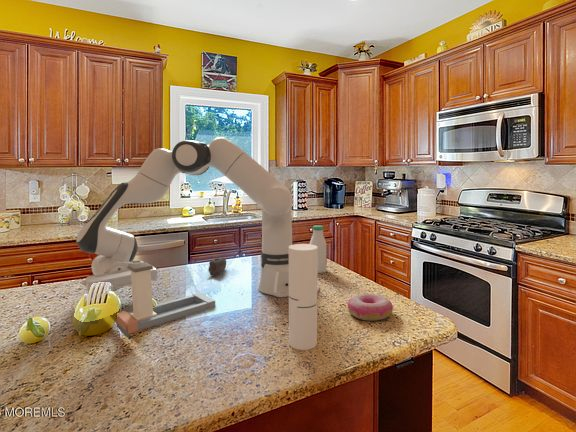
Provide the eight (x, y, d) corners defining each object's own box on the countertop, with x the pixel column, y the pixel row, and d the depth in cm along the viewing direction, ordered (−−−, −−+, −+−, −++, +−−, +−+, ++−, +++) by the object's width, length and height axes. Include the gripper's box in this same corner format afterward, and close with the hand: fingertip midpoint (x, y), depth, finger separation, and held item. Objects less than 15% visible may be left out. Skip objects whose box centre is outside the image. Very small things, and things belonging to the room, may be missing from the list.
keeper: (149, 314, 100) (146, 261, 98) (157, 320, 96) (154, 265, 94) (130, 320, 96) (126, 265, 94) (137, 326, 92) (133, 269, 90)
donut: (389, 307, 109) (390, 292, 109) (395, 325, 96) (396, 308, 96) (347, 304, 112) (347, 289, 111) (347, 322, 99) (347, 305, 98)
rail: (199, 302, 114) (199, 290, 113) (215, 311, 106) (215, 299, 106) (116, 326, 96) (115, 313, 95) (128, 339, 89) (127, 324, 88)
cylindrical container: (298, 333, 92) (298, 242, 88) (321, 340, 88) (322, 246, 84) (283, 344, 86) (282, 247, 82) (307, 352, 82) (307, 251, 78)
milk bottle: (325, 273, 144) (326, 227, 142) (307, 272, 146) (307, 227, 143) (327, 268, 152) (327, 224, 149) (310, 267, 153) (310, 224, 151)
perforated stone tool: (219, 268, 154) (219, 253, 153) (230, 268, 153) (230, 253, 152) (205, 278, 139) (205, 261, 138) (217, 279, 138) (217, 262, 137)
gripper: (79, 271, 103) (91, 282, 93) (147, 259, 117) (164, 267, 107) (80, 291, 104) (92, 304, 94) (148, 277, 118) (164, 287, 108)
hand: (131, 284), depth 100 cm, fingers open, 8 cm apart
